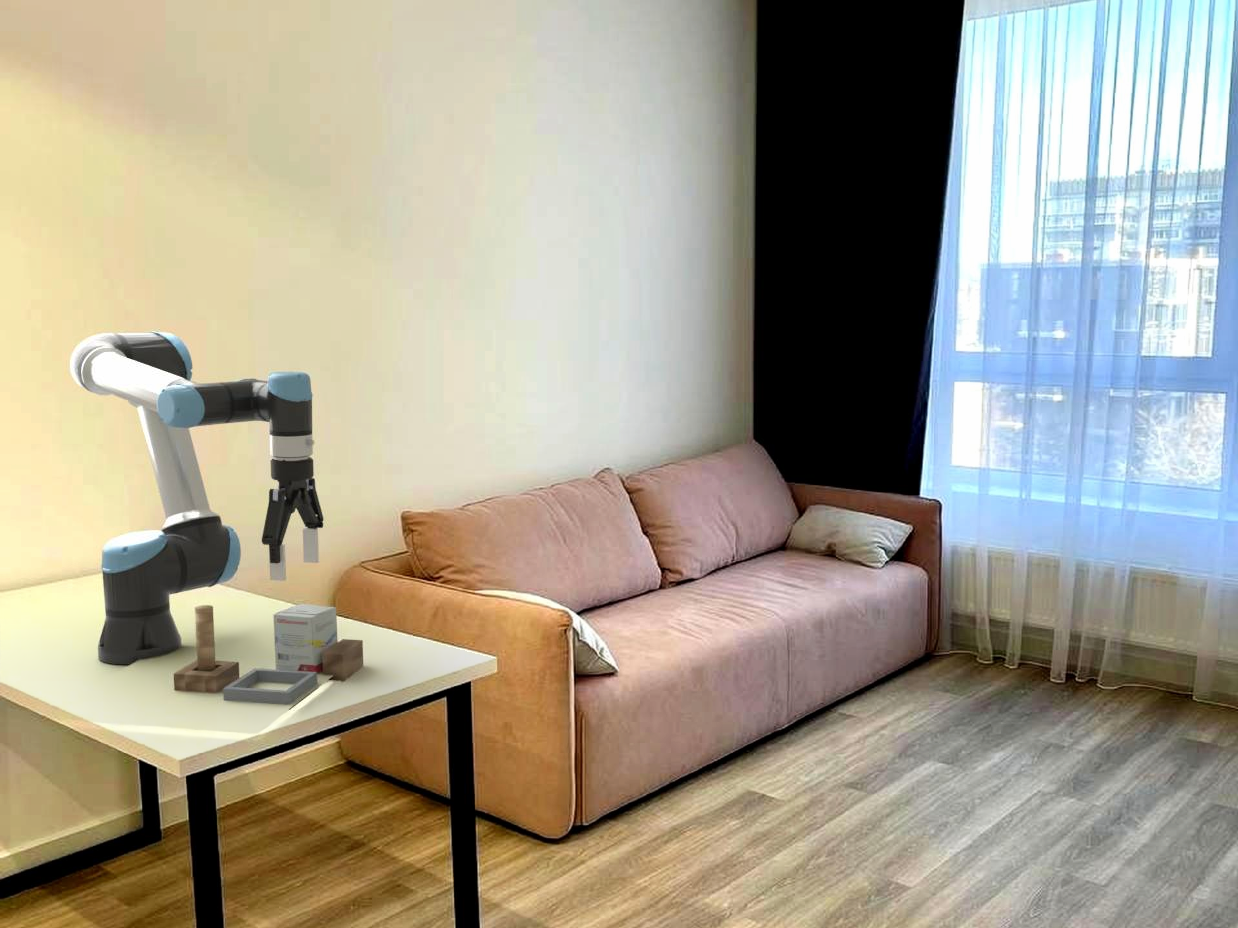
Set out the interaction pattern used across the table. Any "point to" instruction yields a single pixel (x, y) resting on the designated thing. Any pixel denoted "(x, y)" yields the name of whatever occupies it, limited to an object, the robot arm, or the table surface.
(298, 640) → the ink box
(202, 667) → the dowel
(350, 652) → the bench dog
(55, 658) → the table surface
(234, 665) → the socket block
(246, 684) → the tray
